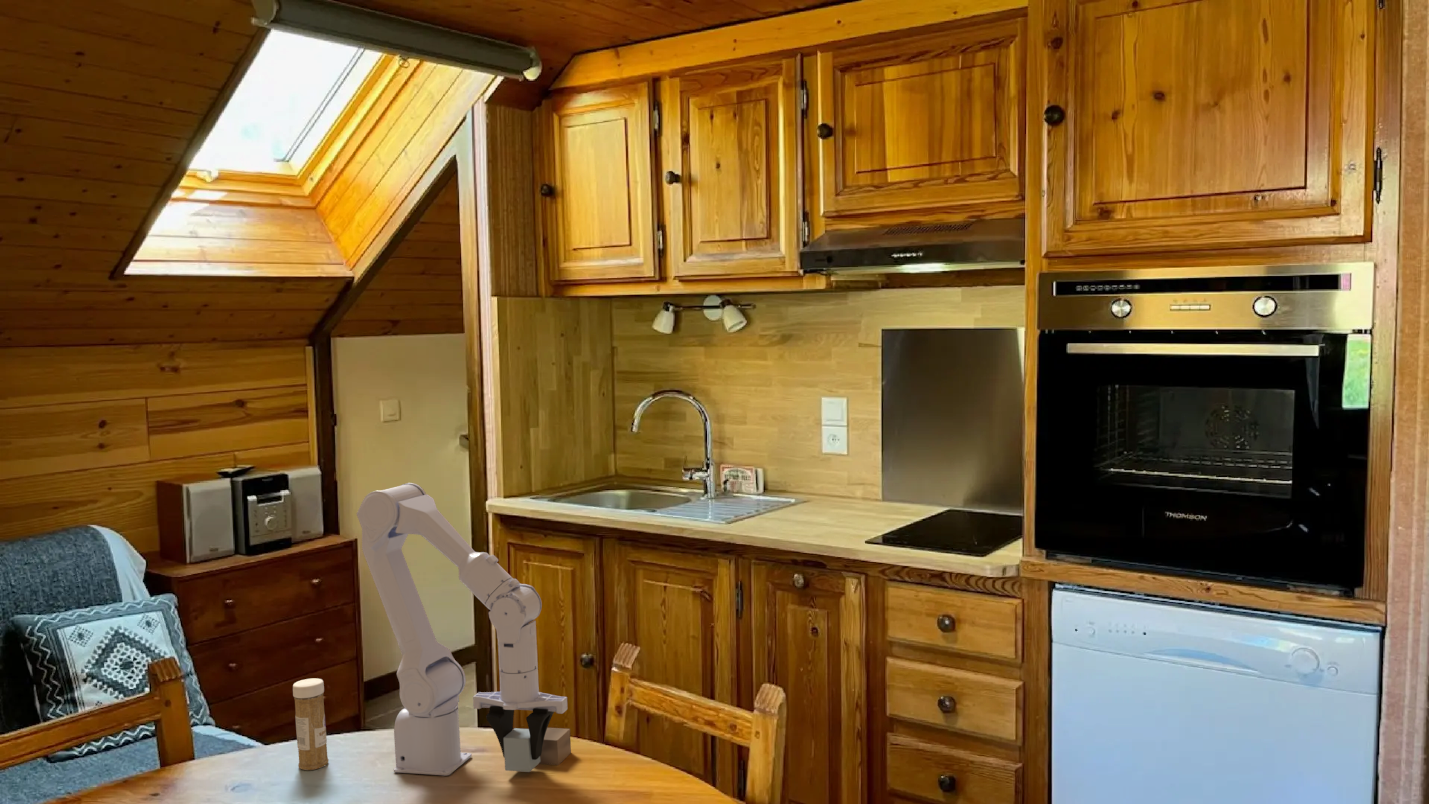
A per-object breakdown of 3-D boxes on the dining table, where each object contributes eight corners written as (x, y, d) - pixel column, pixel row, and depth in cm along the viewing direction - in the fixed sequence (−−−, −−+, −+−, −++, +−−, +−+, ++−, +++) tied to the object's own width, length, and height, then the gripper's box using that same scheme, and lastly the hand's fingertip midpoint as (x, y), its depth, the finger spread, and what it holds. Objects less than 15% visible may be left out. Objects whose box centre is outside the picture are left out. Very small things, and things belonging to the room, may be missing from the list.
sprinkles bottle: (331, 766, 170) (326, 682, 169) (301, 773, 168) (296, 688, 167) (324, 757, 174) (319, 675, 173) (295, 764, 172) (289, 681, 171)
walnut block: (528, 763, 168) (527, 738, 168) (542, 751, 173) (540, 727, 173) (558, 765, 167) (557, 740, 167) (571, 753, 172) (569, 728, 172)
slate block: (505, 770, 163) (503, 737, 162) (516, 760, 167) (514, 728, 166) (529, 772, 162) (528, 739, 162) (540, 761, 166) (538, 729, 165)
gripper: (462, 674, 161) (466, 763, 162) (553, 678, 158) (557, 769, 158) (483, 659, 168) (487, 745, 169) (571, 663, 164) (574, 751, 165)
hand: (522, 756), depth 164 cm, fingers closed on slate block, 4 cm apart
